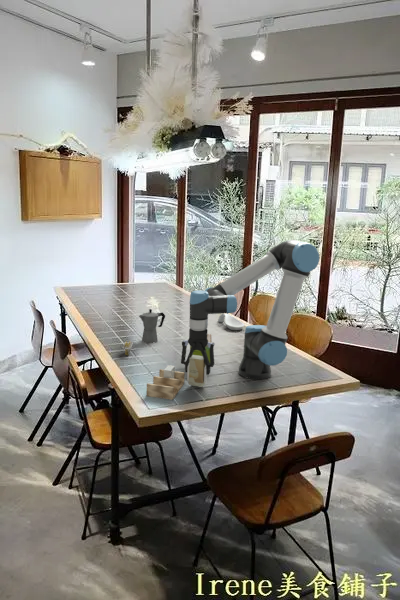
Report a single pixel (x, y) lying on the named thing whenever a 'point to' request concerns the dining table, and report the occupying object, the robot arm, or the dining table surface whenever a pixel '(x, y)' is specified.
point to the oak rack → (165, 385)
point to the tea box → (197, 352)
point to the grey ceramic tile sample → (169, 372)
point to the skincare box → (196, 370)
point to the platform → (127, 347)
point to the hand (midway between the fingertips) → (197, 380)
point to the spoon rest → (231, 322)
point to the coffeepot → (151, 325)
